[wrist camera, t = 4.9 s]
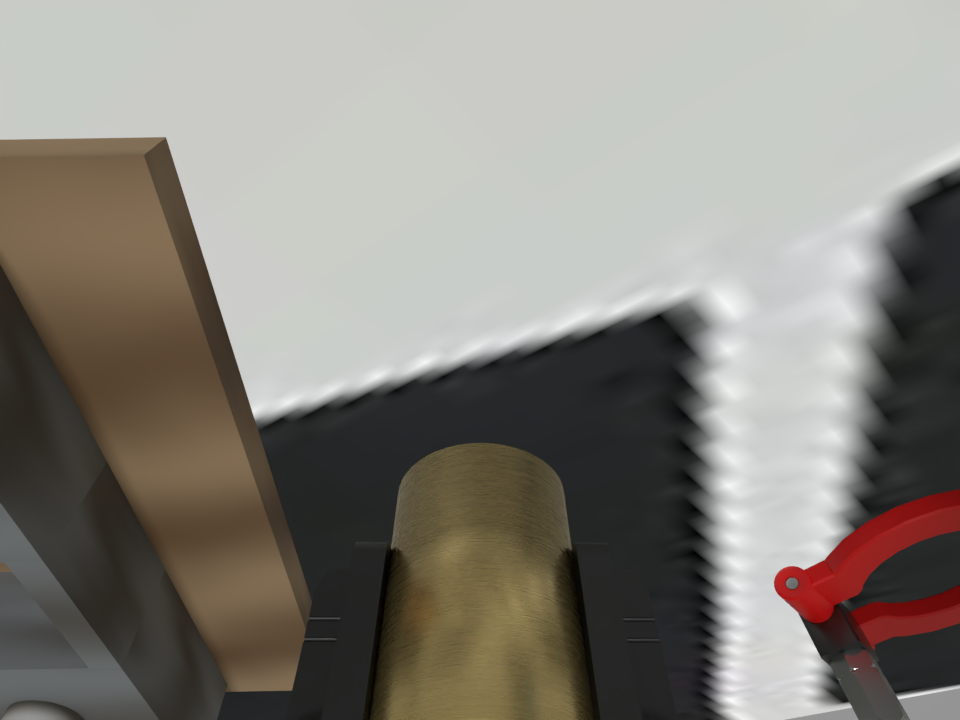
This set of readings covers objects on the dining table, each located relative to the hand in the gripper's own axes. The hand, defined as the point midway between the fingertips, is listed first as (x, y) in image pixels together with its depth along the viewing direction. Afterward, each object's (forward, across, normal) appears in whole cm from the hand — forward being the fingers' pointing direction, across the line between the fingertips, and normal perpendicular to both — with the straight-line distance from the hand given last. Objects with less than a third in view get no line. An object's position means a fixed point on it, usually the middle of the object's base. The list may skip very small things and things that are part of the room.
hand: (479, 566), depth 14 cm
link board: (+6, +15, +5) cm, 17 cm away
